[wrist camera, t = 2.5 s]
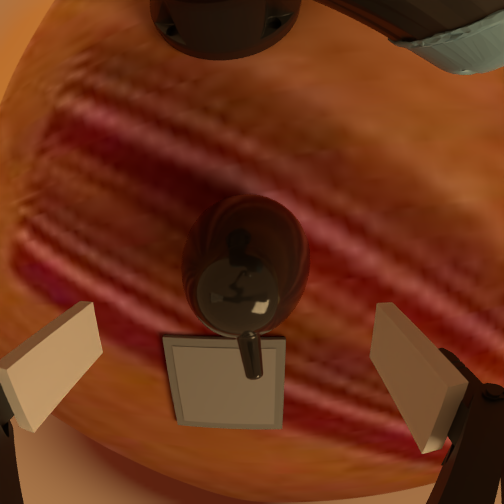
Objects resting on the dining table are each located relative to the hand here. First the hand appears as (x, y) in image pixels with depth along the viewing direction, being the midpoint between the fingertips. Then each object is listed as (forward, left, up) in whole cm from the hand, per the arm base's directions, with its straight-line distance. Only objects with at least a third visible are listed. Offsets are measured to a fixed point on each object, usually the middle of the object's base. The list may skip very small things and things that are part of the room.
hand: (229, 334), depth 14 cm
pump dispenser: (0, 0, -18) cm, 18 cm away
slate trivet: (+16, -3, -18) cm, 24 cm away
